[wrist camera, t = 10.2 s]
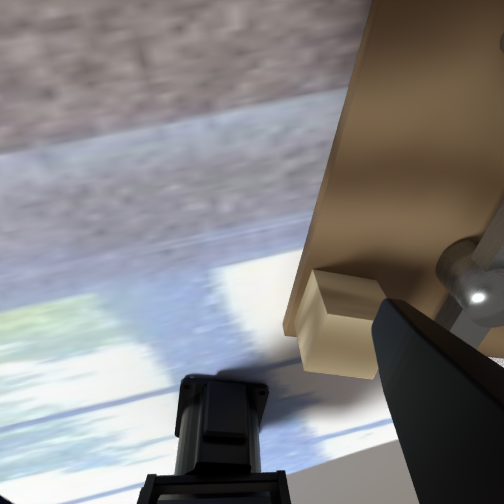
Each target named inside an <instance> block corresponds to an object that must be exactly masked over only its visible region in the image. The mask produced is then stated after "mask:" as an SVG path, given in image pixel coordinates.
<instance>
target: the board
mask: <svg viewBox="0 0 504 504" xmlns="http://www.w3.org/2000/svg"><path fill="white" fill-rule="evenodd" d="M503 201H504V0H373V2H372V6H371V9H370V13H369V16H368V20H367V23H366V27H365V31H364V34H363V38H362V41H361V45H360V48H359V52H358V56H357V59H356V63H355V66H354V70H353V74H352V77H351V81H350V84H349V88H348V91H347V95H346V99H345V102H344V106H343V109H342V113H341V116H340V120H339V124H338V127H337V131H336V134H335V138H334V141H333V145H332V149H331V152H330V156H329V159H328V163H327V167H326V170H325V174H324V177H323V181H322V184H321V188H320V192H319V195H318V199H317V202H316V206H315V209H314V213H313V217H312V220H311V224H310V227H309V231H308V235H307V238H306V242H305V245H304V249H303V252H302V256H301V260H300V263H299V267H298V270H297V274H296V277H295V281H294V285H293V288H292V292H291V295H290V299H289V302H288V306H287V310H286V313H285V317H284V320H283V328H284V334H285V336H292V337H297V335H296V330H295V326H294V320H295V317H296V314H297V311H298V309H299V306H300V303H301V300H302V297H303V295H304V292H305V289H306V286H307V283H308V280H309V278H310V275H311V272H312V269H313V270H319V271H325V272H331V273H337V274H343V275H349V276H355V277H361V278H367V279H372V280H377V282H378V284H379V285H380V287H381V289H382V291H383V292H384V294H385V296H386V297H387V298H396V299H402V300H404V301H406V302H407V303H409V304H410V305H412V306H413V307H414V308H416V309H417V310H419V311H420V312H422V313H423V314H425V315H426V316H428V317H429V318H431V319H432V320H434V319H435V318H436V316H437V314H438V313H439V311H440V309H441V307H442V306H443V304H444V302H445V301H446V299H447V297H448V295H449V294H450V293H449V292H448V291H447V290H446V289H445V287H444V286H443V285H442V284H441V283H440V281H439V280H438V279H437V277H436V273H435V269H436V264H437V262H438V260H439V258H440V257H441V255H442V254H443V253H444V252H445V251H446V250H447V249H448V248H450V247H451V246H453V245H455V244H457V243H459V242H462V241H467V240H477V241H480V240H481V239H482V237H483V235H484V234H485V232H486V230H487V228H488V227H489V225H490V223H491V221H492V220H493V218H494V216H495V215H496V213H497V211H498V209H499V208H500V206H501V204H502V203H503ZM477 350H478V351H479V352H481V353H482V354H484V355H485V356H487V357H494V358H504V326H500V327H495V328H491V329H490V331H489V332H488V334H487V335H486V337H485V338H484V340H483V341H482V342H481V344H480V345H479V347H478V348H477Z"/></svg>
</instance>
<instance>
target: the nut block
mask: <svg viewBox="0 0 504 504" xmlns="http://www.w3.org/2000/svg"><path fill="white" fill-rule="evenodd" d="M385 298H387V297H386V296H385V294H384V292H383V291H382V289H381V287H380V285H379V284H378V282H377V280H372V279H367V278H361V277H355V276H349V275H343V274H337V273H331V272H325V271H319V270H313V269H312V272H311V275H310V278H309V280H308V283H307V286H306V289H305V292H304V295H303V297H302V300H301V303H300V306H299V309H298V311H297V314H296V317H295V320H294V326H295V330H296V335H297V340H298V345H299V349H300V354H301V359H302V363H303V368H304V371H308V372H316V373H324V374H332V375H339V376H347V377H355V378H363V379H371V380H373V379H374V377H375V375H376V373H377V372H378V370H379V369H378V364H377V359H376V354H375V349H374V345H373V340H372V335H371V327H372V323H373V321H374V318H375V316H376V314H377V311H378V309H379V307H380V304H381V302H382V301H383V300H384V299H385Z"/></svg>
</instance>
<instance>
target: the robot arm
mask: <svg viewBox="0 0 504 504" xmlns="http://www.w3.org/2000/svg"><path fill="white" fill-rule="evenodd" d="M371 335H372V340H373V345H374V349H375V354H376V359H377V364H378V369H379V374H380V379H381V383H382V387H383V391H384V395H385V398H386V402H387V405H388V408H389V411H390V414H391V417H392V420H393V423H394V426H395V429H396V432H397V436H398V439H399V442H400V445H401V448H402V451H403V454H404V457H405V460H406V463H407V467H408V469H409V473H410V476H411V479H412V482H413V485H414V488H415V491H416V494H417V497H418V501H419V503H420V504H504V368H503V367H502V366H500V365H499V364H497V363H496V362H494V361H493V360H491V359H490V358H488V357H487V356H485V355H484V354H482V353H481V352H479V351H478V350H476V349H475V348H474V347H472V346H471V345H469V344H468V343H466V342H465V341H463V340H462V339H460V338H459V337H457V336H456V335H454V334H453V333H451V332H450V331H448V330H447V329H445V328H444V327H443V326H441V325H440V324H438V323H437V322H435V321H434V320H432V319H431V318H429V317H428V316H426V315H425V314H423V313H422V312H420V311H419V310H417V309H416V308H414V307H413V306H412V305H410V304H409V303H407V302H406V301H404V300H402V299H396V298H385V299H384V300H383V301H382V302H381V304H380V307H379V309H378V311H377V314H376V316H375V318H374V321H373V323H372V327H371ZM186 384H188V385H186ZM268 395H269V388H268V386H267V385H265V384H256V383H245V382H233V381H222V380H210V379H199V378H184V379H182V381H181V385H180V393H179V402H178V410H177V418H176V427H175V436H176V437H178V438H179V443H178V451H177V458H176V466H175V473H174V475H160V476H157V474H148V475H147V478H146V481H145V484H144V487H142V488H141V491H140V494H139V498H138V501H137V504H291V500H290V495H289V489H288V484H287V478H286V473H285V470H277V471H276V472H263V473H261V460H260V444H259V426H260V422H261V419H262V415H263V412H264V409H265V405H266V402H267V398H268Z"/></svg>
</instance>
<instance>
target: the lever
mask: <svg viewBox="0 0 504 504" xmlns="http://www.w3.org/2000/svg"><path fill="white" fill-rule="evenodd" d="M435 273H436V277H437V279H438V280H439V281H440V283H441V284H442V285H443V286H444V287H445V289H446V290H447V291H448V292H449V293H450V294H449V295H448V297H447V299H446V301H445V302H444V304H443V306H442V307H441V309H440V311H439V313H438V314H437V316H436V318H435V319H434V321H435V322H437V323H438V324H440V325H441V326H443V327H444V328H445V329H447V330H448V331H450V332H451V333H453V334H454V335H456V336H457V337H459V338H460V339H462V340H463V341H465V342H466V343H468V344H469V345H471V346H472V347H474V348H475V349H476V350H477V348H478V347H479V345H480V344H481V342H482V341H483V340H484V338H485V337H486V335H487V334H488V332H489V331H490V329H491V328H495V327H500V326H504V201H503V203H502V204H501V206H500V208H499V209H498V211H497V213H496V215H495V216H494V218H493V220H492V221H491V223H490V225H489V227H488V228H487V230H486V232H485V234H484V235H483V237H482V239H481V240H480V241H477V240H467V241H462V242H459V243H457V244H455V245H453V246H451V247H450V248H448V249H447V250H446V251H445V252H444V253H443V254H442V255H441V257H440V258H439V260H438V262H437V264H436V269H435Z"/></svg>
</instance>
